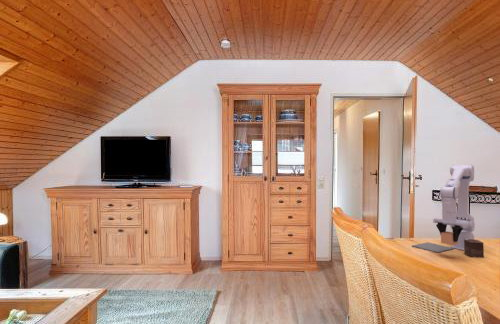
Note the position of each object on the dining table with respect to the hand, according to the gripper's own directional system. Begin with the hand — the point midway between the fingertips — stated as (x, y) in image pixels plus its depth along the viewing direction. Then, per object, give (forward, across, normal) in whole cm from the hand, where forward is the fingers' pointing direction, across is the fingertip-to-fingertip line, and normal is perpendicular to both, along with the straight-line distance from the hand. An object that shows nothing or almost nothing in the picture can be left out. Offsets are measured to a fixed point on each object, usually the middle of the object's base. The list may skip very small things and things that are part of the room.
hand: (449, 240), depth 151 cm
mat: (+8, -14, +9) cm, 19 cm away
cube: (+2, 0, 0) cm, 2 cm away
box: (+8, +4, +13) cm, 16 cm away
